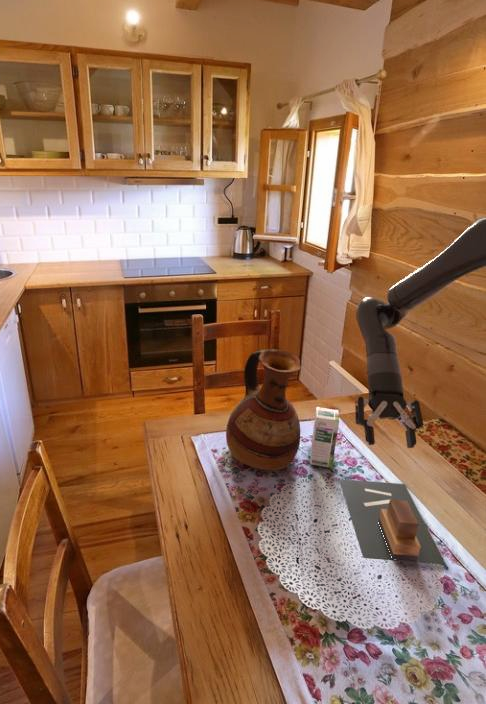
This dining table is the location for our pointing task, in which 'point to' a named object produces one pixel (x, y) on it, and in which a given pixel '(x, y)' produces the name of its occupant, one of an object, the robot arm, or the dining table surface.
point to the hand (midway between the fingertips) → (391, 446)
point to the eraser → (400, 530)
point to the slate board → (366, 512)
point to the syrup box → (324, 437)
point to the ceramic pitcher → (266, 414)
